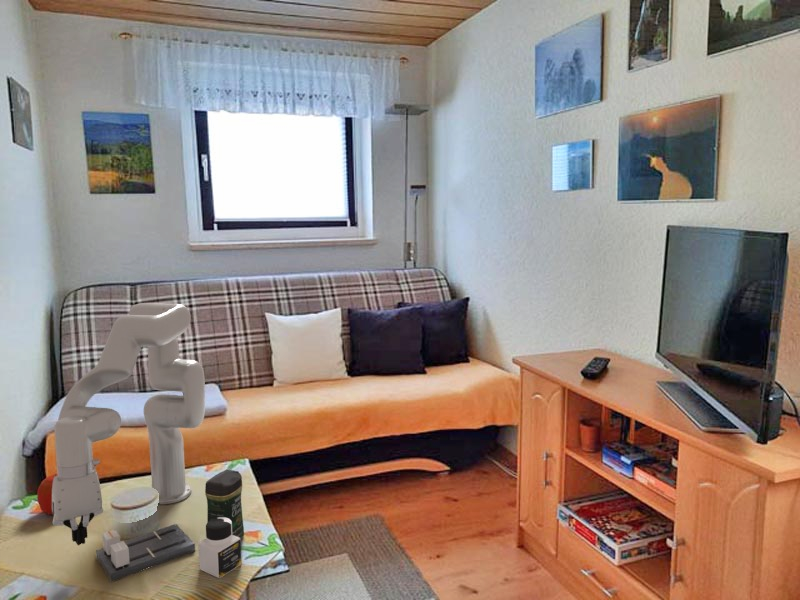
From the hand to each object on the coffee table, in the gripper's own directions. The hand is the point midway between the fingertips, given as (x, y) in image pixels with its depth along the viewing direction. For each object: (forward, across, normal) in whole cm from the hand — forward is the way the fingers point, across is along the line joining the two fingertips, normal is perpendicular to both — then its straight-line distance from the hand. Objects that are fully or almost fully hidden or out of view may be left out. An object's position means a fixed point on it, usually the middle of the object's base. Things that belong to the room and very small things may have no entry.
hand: (80, 542), depth 144 cm
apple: (+7, -2, -36) cm, 37 cm away
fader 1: (+5, -7, 0) cm, 8 cm away
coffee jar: (+7, -32, +10) cm, 35 cm away
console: (+7, -14, +3) cm, 16 cm away
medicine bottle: (+7, -26, +20) cm, 34 cm away
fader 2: (+5, -7, +7) cm, 11 cm away
